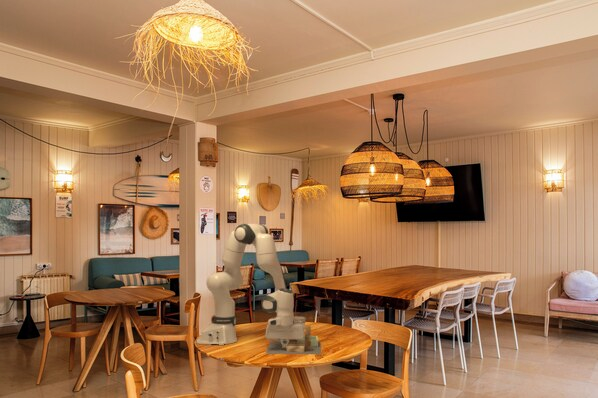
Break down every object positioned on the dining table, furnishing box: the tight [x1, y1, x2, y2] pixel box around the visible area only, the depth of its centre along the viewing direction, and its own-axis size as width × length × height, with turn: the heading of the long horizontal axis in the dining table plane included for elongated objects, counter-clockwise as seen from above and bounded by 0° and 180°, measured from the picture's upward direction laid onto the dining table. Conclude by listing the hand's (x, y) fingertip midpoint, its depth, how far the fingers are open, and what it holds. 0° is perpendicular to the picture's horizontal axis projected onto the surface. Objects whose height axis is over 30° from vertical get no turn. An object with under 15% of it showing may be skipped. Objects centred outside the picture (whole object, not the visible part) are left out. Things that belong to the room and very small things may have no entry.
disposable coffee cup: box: [294, 315, 306, 323], centre depth 267 cm, size 10×10×12 cm
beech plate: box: [287, 344, 305, 352], centre depth 238 cm, size 9×7×2 cm
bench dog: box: [305, 340, 311, 351], centre depth 238 cm, size 3×3×5 cm
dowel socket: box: [275, 339, 287, 346], centre depth 250 cm, size 6×6×3 cm
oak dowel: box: [304, 325, 312, 340], centre depth 250 cm, size 3×3×9 cm
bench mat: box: [265, 340, 322, 355], centre depth 244 cm, size 28×26×1 cm
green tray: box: [296, 335, 319, 347], centre depth 250 cm, size 11×10×4 cm
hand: (284, 347), depth 238 cm, fingers closed
